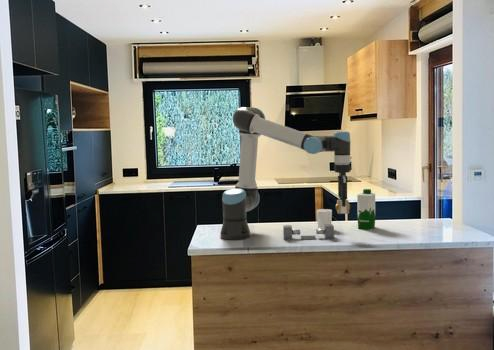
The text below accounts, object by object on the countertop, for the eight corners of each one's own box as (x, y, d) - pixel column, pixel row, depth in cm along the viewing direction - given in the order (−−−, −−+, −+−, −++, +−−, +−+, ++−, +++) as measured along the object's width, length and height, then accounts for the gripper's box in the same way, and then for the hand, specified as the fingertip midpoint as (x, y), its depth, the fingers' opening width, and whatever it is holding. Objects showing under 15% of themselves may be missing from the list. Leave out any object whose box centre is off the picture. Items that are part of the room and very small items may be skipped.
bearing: (283, 239, 233) (283, 227, 232) (283, 237, 238) (283, 225, 237) (300, 239, 233) (300, 227, 232) (299, 236, 238) (299, 224, 237)
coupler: (336, 213, 231) (336, 201, 230) (335, 212, 235) (335, 200, 235) (350, 213, 231) (350, 201, 230) (349, 211, 235) (348, 199, 234)
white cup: (331, 230, 249) (331, 211, 248) (316, 230, 250) (316, 211, 249) (332, 227, 256) (332, 209, 255) (317, 227, 258) (317, 209, 257)
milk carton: (376, 226, 255) (376, 189, 253) (372, 230, 247) (372, 191, 245) (360, 225, 259) (360, 188, 257) (355, 229, 251) (355, 191, 249)
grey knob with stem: (317, 238, 232) (316, 226, 232) (316, 236, 237) (315, 224, 237) (333, 238, 232) (333, 226, 231) (332, 236, 237) (332, 224, 236)
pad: (301, 239, 232) (301, 239, 232) (300, 236, 239) (300, 235, 239) (316, 239, 231) (316, 238, 231) (314, 236, 238) (314, 235, 238)
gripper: (353, 165, 222) (353, 215, 224) (347, 162, 239) (347, 208, 242) (337, 165, 222) (337, 215, 224) (332, 162, 239) (332, 209, 242)
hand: (342, 211), depth 233 cm, fingers closed on coupler, 5 cm apart
